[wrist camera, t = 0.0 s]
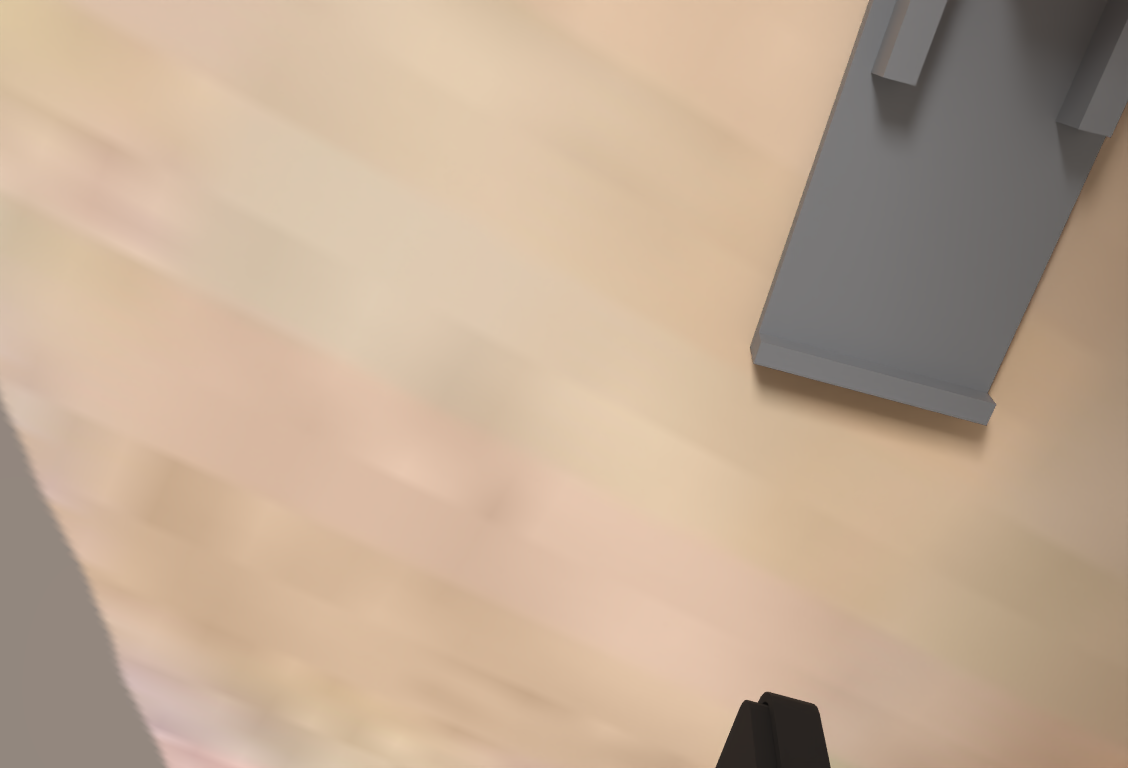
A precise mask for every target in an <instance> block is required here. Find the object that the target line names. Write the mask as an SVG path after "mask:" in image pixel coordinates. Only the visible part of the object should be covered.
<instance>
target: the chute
mask: <svg viewBox="0 0 1128 768" xmlns="http://www.w3.org/2000/svg"><path fill="white" fill-rule="evenodd" d="M1127 102H1128V0H869V3H868V6H867V9H866V12H865V15H864V18H863V21H862V23H861V26H860V29H859V32H858V35H857V38H856V41H855V44H854V47H853V50H852V53H851V55H850V58H849V61H848V64H847V67H846V70H845V73H844V76H843V79H842V82H841V84H840V87H839V90H838V93H837V96H836V99H835V102H834V105H833V108H832V111H831V113H830V116H829V119H828V122H827V125H826V128H825V131H824V134H823V137H822V140H821V143H820V145H819V148H818V151H817V154H816V157H815V160H814V163H813V166H812V169H811V172H810V174H809V177H808V180H807V183H806V186H805V189H804V192H803V195H802V198H801V201H800V203H799V206H798V209H797V212H796V215H795V218H794V221H793V224H792V227H791V230H790V233H789V235H788V238H787V241H786V244H785V247H784V250H783V253H782V256H781V259H780V262H779V264H778V267H777V270H776V273H775V276H774V279H773V282H772V285H771V288H770V291H769V293H768V296H767V299H766V302H765V305H764V308H763V311H762V314H761V317H760V320H759V322H758V325H757V328H756V331H755V334H754V337H753V340H752V343H751V346H750V349H751V354H752V359H753V363H754V364H757V365H761V366H765V367H768V368H772V369H776V370H780V371H783V372H787V373H791V374H795V375H798V376H802V377H806V378H810V379H813V380H817V381H821V382H825V383H829V384H832V385H836V386H840V387H844V388H847V389H851V390H855V391H859V392H862V393H866V394H870V395H874V396H877V397H881V398H885V399H889V400H892V401H896V402H900V403H904V404H907V405H911V406H915V407H919V408H922V409H926V410H930V411H934V412H937V413H941V414H945V415H949V416H952V417H956V418H960V419H964V420H967V421H971V422H975V423H979V424H982V425H987V423H988V421H989V419H990V417H991V415H992V413H993V411H994V408H995V406H996V403H995V402H994V401H993V399H992V398H991V397H990V396H989V394H988V391H989V389H990V387H991V384H992V382H993V380H994V378H995V376H996V374H997V371H998V369H999V367H1000V365H1001V363H1002V361H1003V358H1004V356H1005V354H1006V352H1007V350H1008V348H1009V345H1010V343H1011V341H1012V339H1013V337H1014V335H1015V332H1016V330H1017V328H1018V326H1019V324H1020V322H1021V319H1022V317H1023V315H1024V313H1025V311H1026V309H1027V306H1028V304H1029V302H1030V300H1031V298H1032V296H1033V293H1034V291H1035V289H1036V287H1037V285H1038V283H1039V280H1040V278H1041V276H1042V274H1043V272H1044V270H1045V267H1046V265H1047V263H1048V261H1049V259H1050V257H1051V254H1052V252H1053V250H1054V248H1055V246H1056V244H1057V241H1058V239H1059V237H1060V235H1061V233H1062V231H1063V228H1064V226H1065V224H1066V222H1067V220H1068V218H1069V215H1070V213H1071V211H1072V209H1073V207H1074V205H1075V202H1076V200H1077V198H1078V196H1079V194H1080V192H1081V189H1082V187H1083V185H1084V183H1085V181H1086V179H1087V176H1088V174H1089V172H1090V170H1091V168H1092V166H1093V163H1094V161H1095V159H1096V157H1097V155H1098V153H1099V150H1100V148H1101V146H1102V144H1103V142H1104V140H1105V137H1106V136H1107V137H1110V138H1111V136H1112V134H1113V132H1114V130H1115V128H1116V125H1117V123H1118V121H1119V119H1120V117H1121V115H1122V112H1123V110H1124V108H1125V106H1126V104H1127Z"/></svg>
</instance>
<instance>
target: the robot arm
mask: <svg viewBox="0 0 1128 768" xmlns="http://www.w3.org/2000/svg"><path fill="white" fill-rule="evenodd" d="M716 768H831V767H830V762H829V757H828V752H827V747H826V743H825V738H824V733H823V728H822V723H821V718H820V714H819V711H818V708H817V706H816V705H814V704H812V703H808V702H805V701H801V700H797V699H793V698H790V697H786V696H782V695H778V694H775V693H771V692H765V693H764V694H763V695H762V696H761V698H760V700H759V701H758V703H757V702H753V701H749V700H745V701H744V702H743V703H742V705H741V707H740V709H739V711H738V714H737V716H736V718H735V721H734V723H733V726H732V728H731V731H730V733H729V736H728V738H727V741H726V743H725V746H724V748H723V751H722V753H721V756H720V758H719V760H718V763H717V765H716Z"/></svg>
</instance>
